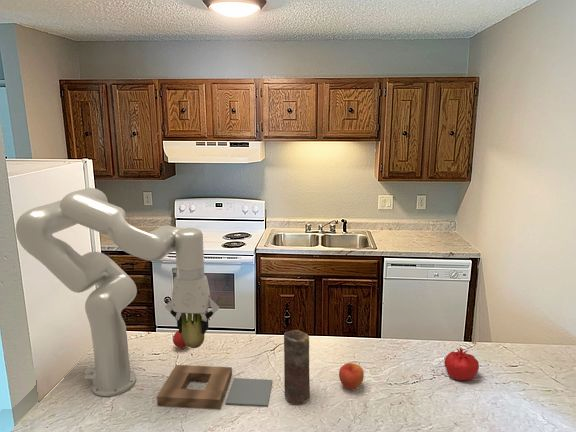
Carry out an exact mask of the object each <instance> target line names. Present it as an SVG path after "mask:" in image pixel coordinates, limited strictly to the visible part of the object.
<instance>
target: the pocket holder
mask: <svg viewBox="0 0 576 432" xmlns="http://www.w3.org/2000/svg"><path fill="white" fill-rule="evenodd" d="M232 377H233V367H231V366H211V365H190V364H189V365H187V364H175V365H174V366H173V369H172V371H170V374H169V376H168V377H167V379H166V380H165V382H164V383H163V385H162V388H161V389H160V391H159V392H158V394H157V396H156V405H157V407H170V408H187V409H189V408H190V409H207V410H208V409H209V410H221V409H222V405H223V402H224V400H225V397H226V394H227V391H228V388H229V386H230V383H231V380H232ZM189 381H196V382H195V383H206V386H205V387H204V389H195V388H194V389H192V388H189V389H188V388H187V387H188V386H187V385H189V384H188V383H190V382H189Z"/></svg>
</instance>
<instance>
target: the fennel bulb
mask: <svg viewBox="0 0 576 432" xmlns="http://www.w3.org/2000/svg"><path fill="white" fill-rule="evenodd" d="M181 316H182V338H183V341H184V343H185V345H186V347H187V348H191V349H197V348H199V347H201V346H202V345H203V343H204V341H205V334H202V328H201V322H202V320H203V319H202V316H201V314H191V313H181Z"/></svg>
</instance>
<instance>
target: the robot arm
mask: <svg viewBox="0 0 576 432" xmlns="http://www.w3.org/2000/svg"><path fill="white" fill-rule="evenodd" d="M126 215H127V214H126V211H125V210H124V209H123V208H122V207H120V206H119V205H118V206H117V205H115V204H112V203H110V202H109V200H108V197H107V196H106V193H104V192H103V191H101V190H100V189H98V188H95V187H87V188H83V189H79V190H75V191H72V192H70V193H68V194H66V195H65V196H63V197H62V199H61V200H57V201H55V202H50V203H47V204H43V205H39V206H37V207H33V208H31V209H29V210H26V211H25V212H23V213H22V214H21V215H20V216H19V218H18V219H17V222H16V224H15V233H16V237H17V240H18V242H19V244H20V246H21V247H22V248H23V249H24V250H25V251H26V252H27V253H28V254H29V255H31V256H32V257H33V258H34V259H36V260H37V261H38V262H40V263H41V264H42V265H43V266H44V267H45V268H46V269H47V270H48V271H50V273H51V274H52V275H53V276H54V277H56V279H57V280H59V281H60V282H61V283H62V284H63V285H64V286H65V287H66V288H68V289H69V291H71V292H73V293H78V294H79V293H83V292H85V291H88V290H90V289H92V288H93V287H94V286H95V285H97V286H98V287H97V288H96V289H94V290H93V291H91V293H90V294H89V295H88V296H87V298H86V300H85V303H84V310H85V314H86V317H87V319H88V323H89V327H90V334H91V341H92V348H93V350H92V351H93V358H94V368H95V369H94V368H86V369H85V370H84V379H85V380H91V381H92V382H91V391H92V392H93V394H95V395H97V396H99V397H113V396H117V395H121V394H123V393H125V392H127V391H129V390H130V389H131V388H133V386H134V385H135V384H136V383H137V375H136V373H135V372H134V371H132V370H131V367H130V355H129V344H128V334H127V327H126V326H127V325H126V322H125V321H124V318H123V317H122V311H123V310H124V309H125V308H126V307H127V306H128V305H130V304H131V303H132V302H133V301H134V299H135V298H136V296H137V294H138V289H137V286H136V285H137V284H136V282H135V281H134V280H133V279H132V278H131V276H129V274H127V273H126V271H124V270H123V269H122V268H121V267H120V266H119V265H118V264H117V263H116V262H115V261H114V260H113V259H111V258H110V257H109V256H108V255H107V254H104V253H103V252H101V251H89V252H87V253H85V254H83V255H81V254H80V253H78V252H77V251H76V250H75V249H74V248H73V247H72V246H71V245H70V244H69V243H67V242H66V241H64V240H63V239H60V238H57V237H55V236H53V234H55V233H59V232H61V231H64V230H65V229H66V230H67V229H68V228H71V227H73V226H75V225H80V226H83V227H86V228H88V229H90V230H94V231H96V232H97V233H101V234H103V235H105V236H107V237H109V238H110V240H111V241H112V242H113V244H114V245H115V246H117V248H119V249H120V250H122V251H123V252H125V253H126V254H129V255H131V256H134V257H136V258H139V259H142V260H144V261H149V262H157V261H160V260H162V259H164V258H165V257H167V256H168V255H169V254H170V253H173V252H175V263H176V264H175V265H176V266H175V267H171V273H173V274H175V276H174V278H173V280H172V281H173V282H172V292H171V293H172V294H171V299H170V300H169V301H168V302H167V304H166V305H164V308H165V310H167V311H168V312H170V314H171V316H173V317H174V318H175V321H176V325H177V326H176V327H177V330H179V333H182V316H181V313H186V314H188V313H191V314H192V315H193V314H201V316H202V322H201V328H202V334H204V335H205V334H206V332H207V331H208V330H209V319H210V318H211V317H213V315H214V314H216V313H217V312H218V310H220V306H219V305H218V304H217V303H216V302H215V301H214V300H213V299H212V298H211V292H210V291H211V290H210V287H209V281H208V277H207V275H205V262H204V261H205V259H204V258H205V257H204V256H205V255H204V235H203V232H202V230H201V229H199V228H194V227H187V228H181V227H177V226H174V225H162V226H159V227H157V228H156V229H154V230H152V231H150V232H147V231H144V230H142V229H140V228H137V227H135V226H133V225H131V224H129V222H127V221H126V217H127V216H126ZM209 308H211V309H210V310H209ZM208 310H209V311H208Z"/></svg>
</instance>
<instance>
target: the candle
mask: <svg viewBox="0 0 576 432" xmlns="http://www.w3.org/2000/svg"><path fill="white" fill-rule="evenodd" d="M283 354H284V355H283V362H284V363H283V366H284V367H283V368H284V370H283V371H284V373H283V376H284V377H283V378H284V381H283V382H284V383H283V384H284V387H283V388H284V398H285V399H286V401H287V402H288V403H289V404H290V405H302V404H303V403H305V402H306V401H308V400H309V398H310V394H311V391H310V389H311V387H310V386H311V384H310V383H311V382H310V379H311V378H310V335H308V334H307V333H306V332H304V331H301V330H299V329H295V330H294V329H293V330H289V331H285V332H284V334H283Z"/></svg>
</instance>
